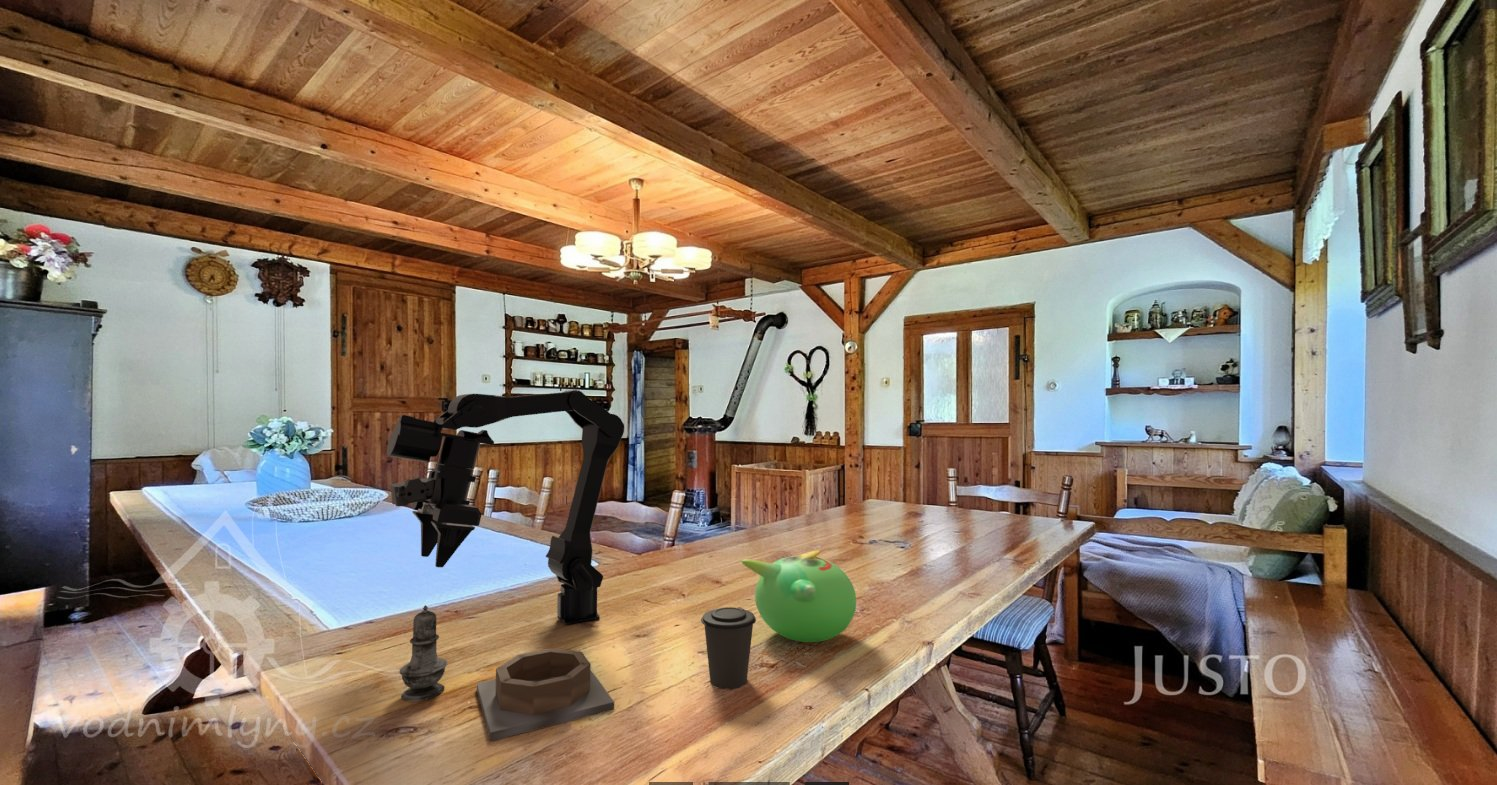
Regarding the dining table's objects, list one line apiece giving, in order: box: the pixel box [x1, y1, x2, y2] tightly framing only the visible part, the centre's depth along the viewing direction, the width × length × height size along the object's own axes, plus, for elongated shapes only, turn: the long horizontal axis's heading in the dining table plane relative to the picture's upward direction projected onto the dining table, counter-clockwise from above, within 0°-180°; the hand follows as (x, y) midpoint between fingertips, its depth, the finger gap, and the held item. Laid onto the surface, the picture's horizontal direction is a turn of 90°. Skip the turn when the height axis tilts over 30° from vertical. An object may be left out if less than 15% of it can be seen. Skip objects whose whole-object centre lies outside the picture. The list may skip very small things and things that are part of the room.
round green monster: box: [741, 549, 857, 643], centre depth 103 cm, size 18×17×15 cm
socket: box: [476, 647, 615, 742], centre depth 80 cm, size 15×15×4 cm
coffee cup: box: [700, 606, 757, 690], centre depth 86 cm, size 8×8×10 cm
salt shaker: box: [398, 604, 448, 703], centre depth 82 cm, size 6×6×12 cm
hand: (431, 561), depth 96 cm, fingers open, 9 cm apart
